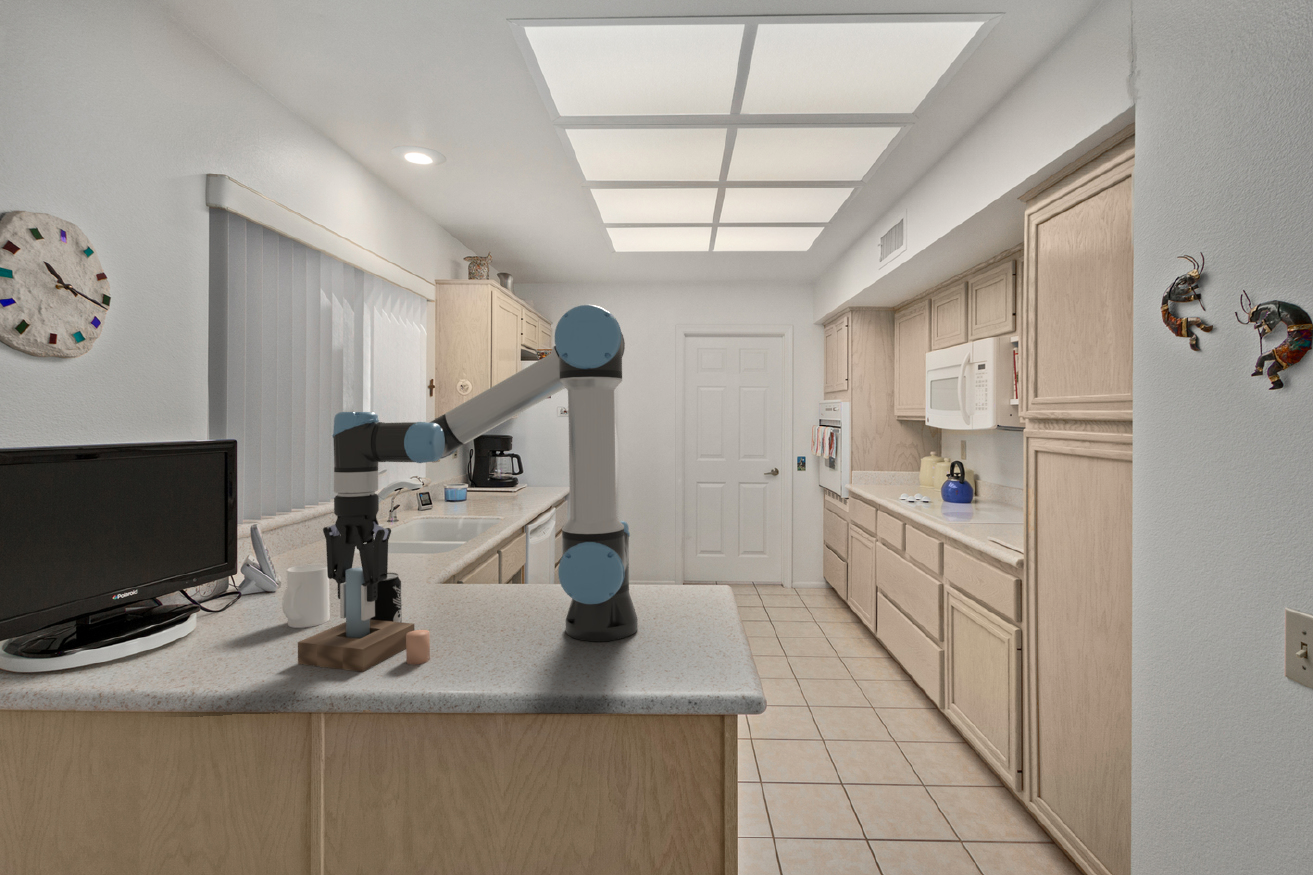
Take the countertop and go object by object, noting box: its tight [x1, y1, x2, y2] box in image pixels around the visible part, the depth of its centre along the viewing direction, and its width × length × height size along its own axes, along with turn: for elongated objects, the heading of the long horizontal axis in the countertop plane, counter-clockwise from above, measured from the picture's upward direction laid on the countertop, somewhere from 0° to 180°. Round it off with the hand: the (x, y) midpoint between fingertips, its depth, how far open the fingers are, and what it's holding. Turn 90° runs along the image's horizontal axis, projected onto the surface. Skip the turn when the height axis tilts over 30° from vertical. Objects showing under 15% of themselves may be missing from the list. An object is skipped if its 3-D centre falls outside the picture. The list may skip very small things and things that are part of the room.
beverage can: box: [370, 572, 403, 622], centre depth 125 cm, size 7×7×12 cm
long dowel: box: [345, 566, 370, 639], centre depth 114 cm, size 4×4×14 cm
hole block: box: [297, 619, 415, 673], centre depth 114 cm, size 14×14×4 cm
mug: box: [281, 563, 331, 629], centre depth 130 cm, size 8×12×12 cm
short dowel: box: [405, 629, 431, 666], centre depth 111 cm, size 4×4×5 cm
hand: (357, 616), depth 114 cm, fingers closed on long dowel, 4 cm apart
